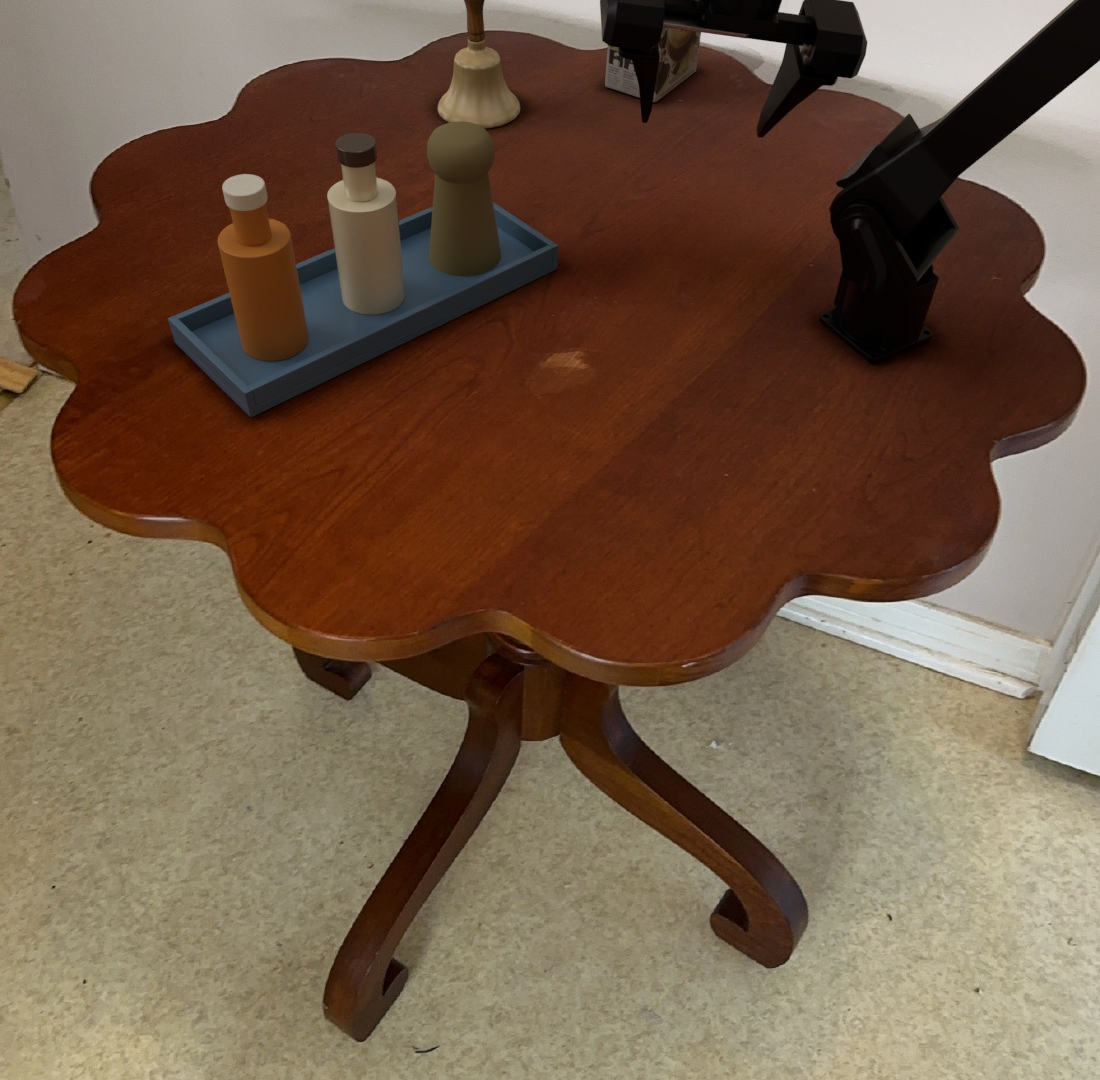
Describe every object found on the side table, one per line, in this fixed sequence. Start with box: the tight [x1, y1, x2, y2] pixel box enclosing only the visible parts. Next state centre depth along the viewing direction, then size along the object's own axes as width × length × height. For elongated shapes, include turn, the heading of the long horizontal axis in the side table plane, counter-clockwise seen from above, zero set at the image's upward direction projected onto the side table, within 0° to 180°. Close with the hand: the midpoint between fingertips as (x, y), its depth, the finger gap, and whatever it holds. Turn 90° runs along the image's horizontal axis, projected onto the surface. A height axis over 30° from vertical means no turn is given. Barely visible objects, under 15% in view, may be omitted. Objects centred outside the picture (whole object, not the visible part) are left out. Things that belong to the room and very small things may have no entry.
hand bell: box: [437, 0, 521, 130], centre depth 103 cm, size 8×8×16 cm
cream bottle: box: [326, 132, 405, 315], centre depth 82 cm, size 5×5×13 cm
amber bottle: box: [217, 173, 309, 361], centre depth 78 cm, size 5×5×13 cm
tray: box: [167, 202, 559, 418], centre depth 87 cm, size 29×11×2 cm, turn 131°
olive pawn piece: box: [426, 121, 501, 276], centre depth 87 cm, size 6×6×11 cm
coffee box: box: [604, 27, 702, 103], centre depth 109 cm, size 9×6×16 cm
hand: (701, 127), depth 85 cm, fingers open, 9 cm apart
